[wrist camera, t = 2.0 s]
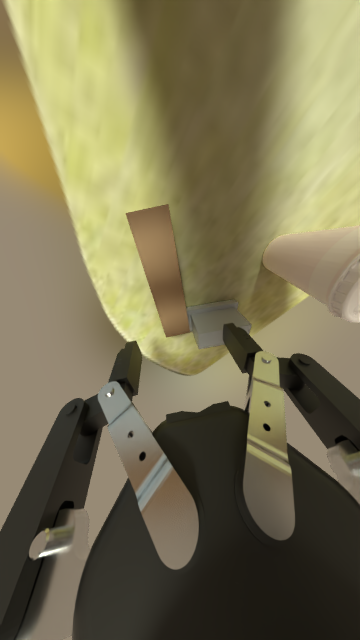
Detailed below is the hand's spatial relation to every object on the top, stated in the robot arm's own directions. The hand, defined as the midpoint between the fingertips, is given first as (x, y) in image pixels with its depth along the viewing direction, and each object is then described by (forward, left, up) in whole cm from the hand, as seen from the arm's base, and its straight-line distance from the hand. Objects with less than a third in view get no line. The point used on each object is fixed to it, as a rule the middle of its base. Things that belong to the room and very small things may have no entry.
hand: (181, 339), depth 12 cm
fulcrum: (+2, +5, -7) cm, 9 cm away
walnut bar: (-4, -1, -7) cm, 8 cm away
